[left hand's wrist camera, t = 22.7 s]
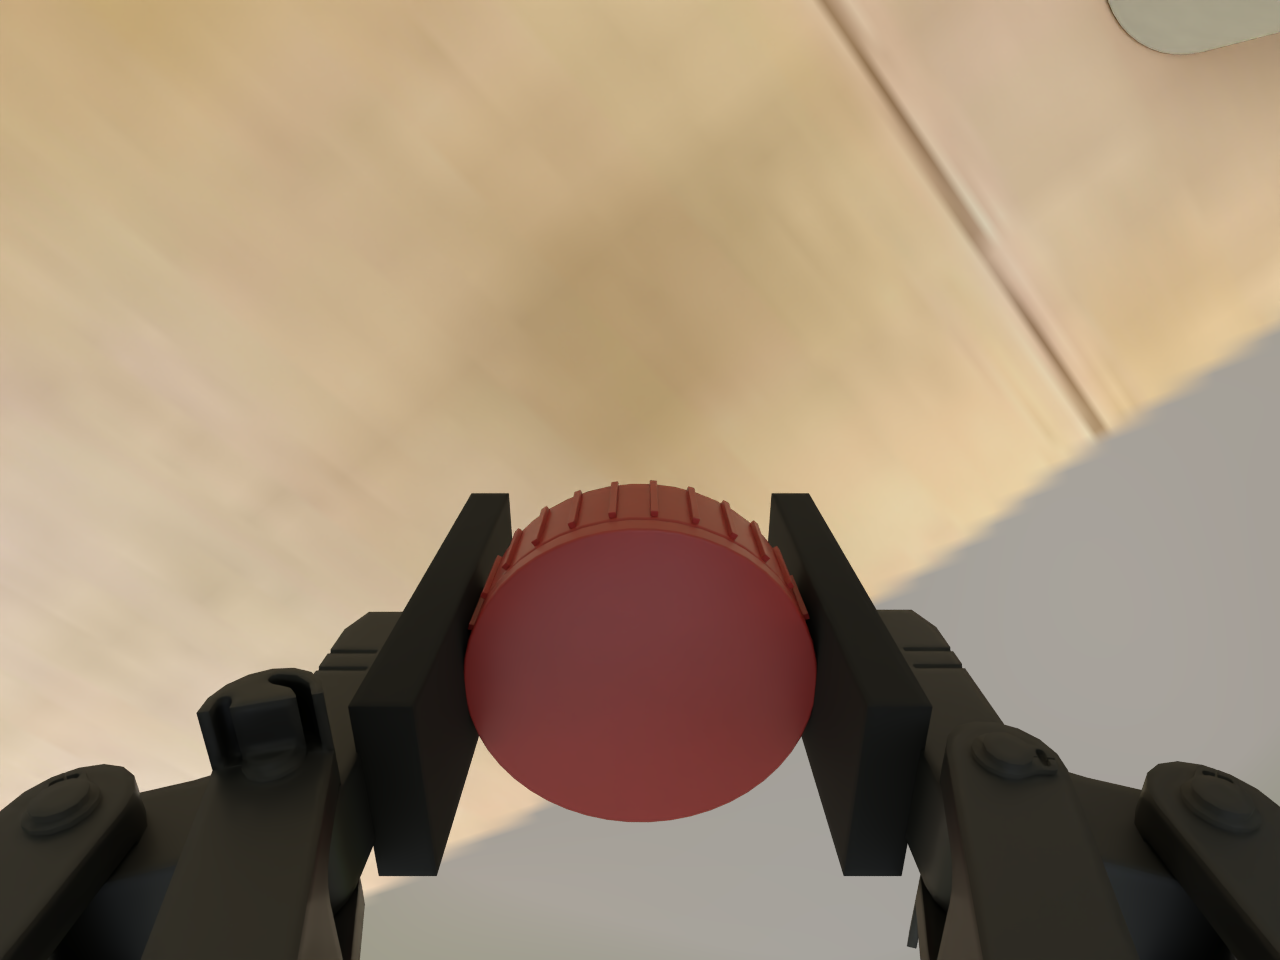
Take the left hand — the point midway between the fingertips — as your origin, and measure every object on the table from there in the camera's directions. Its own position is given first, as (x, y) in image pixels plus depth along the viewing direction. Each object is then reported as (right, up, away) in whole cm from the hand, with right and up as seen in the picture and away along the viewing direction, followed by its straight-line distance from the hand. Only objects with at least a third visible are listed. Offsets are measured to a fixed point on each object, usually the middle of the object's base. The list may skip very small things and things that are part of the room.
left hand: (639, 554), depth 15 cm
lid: (0, -1, -4) cm, 4 cm away
